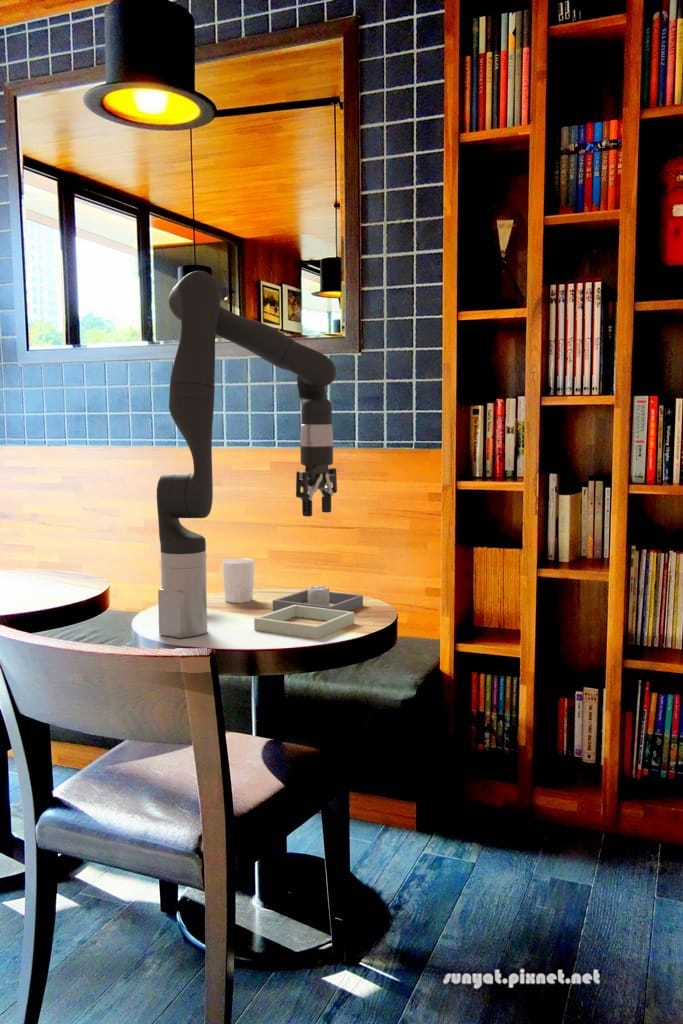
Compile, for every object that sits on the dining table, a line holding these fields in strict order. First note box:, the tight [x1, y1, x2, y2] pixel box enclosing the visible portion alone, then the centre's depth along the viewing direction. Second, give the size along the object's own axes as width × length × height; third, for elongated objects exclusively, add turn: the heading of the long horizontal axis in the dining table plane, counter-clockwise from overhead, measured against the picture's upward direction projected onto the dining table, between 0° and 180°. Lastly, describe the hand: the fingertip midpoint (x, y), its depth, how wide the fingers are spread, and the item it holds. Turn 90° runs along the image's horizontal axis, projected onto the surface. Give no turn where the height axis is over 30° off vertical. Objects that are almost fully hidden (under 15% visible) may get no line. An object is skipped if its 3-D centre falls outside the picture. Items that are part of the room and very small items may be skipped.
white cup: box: [221, 557, 255, 604], centre depth 204 cm, size 8×8×10 cm
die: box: [307, 585, 330, 606], centre depth 195 cm, size 5×5×5 cm
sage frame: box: [253, 605, 355, 640], centre depth 177 cm, size 16×16×2 cm
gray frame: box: [272, 588, 364, 612], centre depth 195 cm, size 16×16×2 cm
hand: (317, 514), depth 191 cm, fingers open, 8 cm apart
